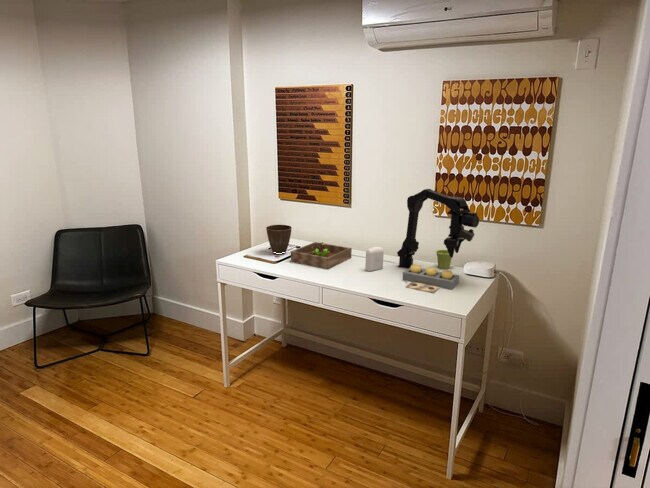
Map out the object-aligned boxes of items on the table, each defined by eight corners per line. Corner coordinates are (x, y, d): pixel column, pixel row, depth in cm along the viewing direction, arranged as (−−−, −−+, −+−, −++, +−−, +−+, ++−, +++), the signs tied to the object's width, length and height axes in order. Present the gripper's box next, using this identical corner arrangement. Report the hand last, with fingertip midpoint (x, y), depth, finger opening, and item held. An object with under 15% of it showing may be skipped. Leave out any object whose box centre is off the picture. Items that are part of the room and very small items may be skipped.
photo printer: (378, 266, 248) (379, 244, 245) (384, 268, 245) (385, 246, 242) (364, 270, 243) (364, 247, 240) (369, 272, 239) (369, 249, 236)
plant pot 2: (440, 270, 242) (441, 255, 240) (431, 265, 251) (432, 250, 249) (455, 269, 245) (457, 253, 242) (446, 264, 253) (448, 249, 251)
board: (402, 280, 228) (402, 272, 227) (410, 274, 237) (411, 266, 236) (451, 289, 215) (452, 281, 214) (458, 283, 224) (459, 275, 223)
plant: (308, 267, 249) (308, 247, 246) (300, 257, 267) (300, 238, 264) (343, 264, 254) (343, 244, 251) (332, 254, 272) (333, 236, 269)
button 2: (424, 277, 224) (424, 269, 223) (427, 274, 228) (428, 266, 227) (433, 279, 222) (434, 271, 221) (437, 276, 226) (437, 268, 225)
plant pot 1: (295, 251, 277) (295, 225, 273) (286, 258, 264) (285, 231, 259) (273, 249, 282) (272, 223, 278) (262, 255, 268) (261, 229, 264)
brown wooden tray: (290, 261, 257) (290, 251, 255) (315, 251, 277) (315, 241, 275) (328, 269, 244) (328, 258, 242) (351, 258, 264) (351, 248, 262)
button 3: (439, 280, 220) (440, 272, 219) (443, 277, 224) (443, 269, 223) (450, 282, 217) (450, 274, 216) (453, 279, 222) (453, 271, 220)
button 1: (408, 274, 228) (409, 266, 227) (412, 271, 232) (413, 264, 231) (418, 276, 226) (418, 268, 225) (421, 273, 230) (422, 265, 229)
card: (405, 287, 217) (405, 285, 217) (412, 282, 224) (412, 281, 224) (433, 293, 210) (434, 291, 210) (439, 288, 217) (439, 286, 216)
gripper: (468, 229, 209) (465, 262, 213) (478, 222, 224) (475, 252, 228) (444, 227, 214) (442, 258, 218) (455, 220, 230) (453, 249, 234)
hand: (454, 255), depth 224 cm, fingers open, 9 cm apart
